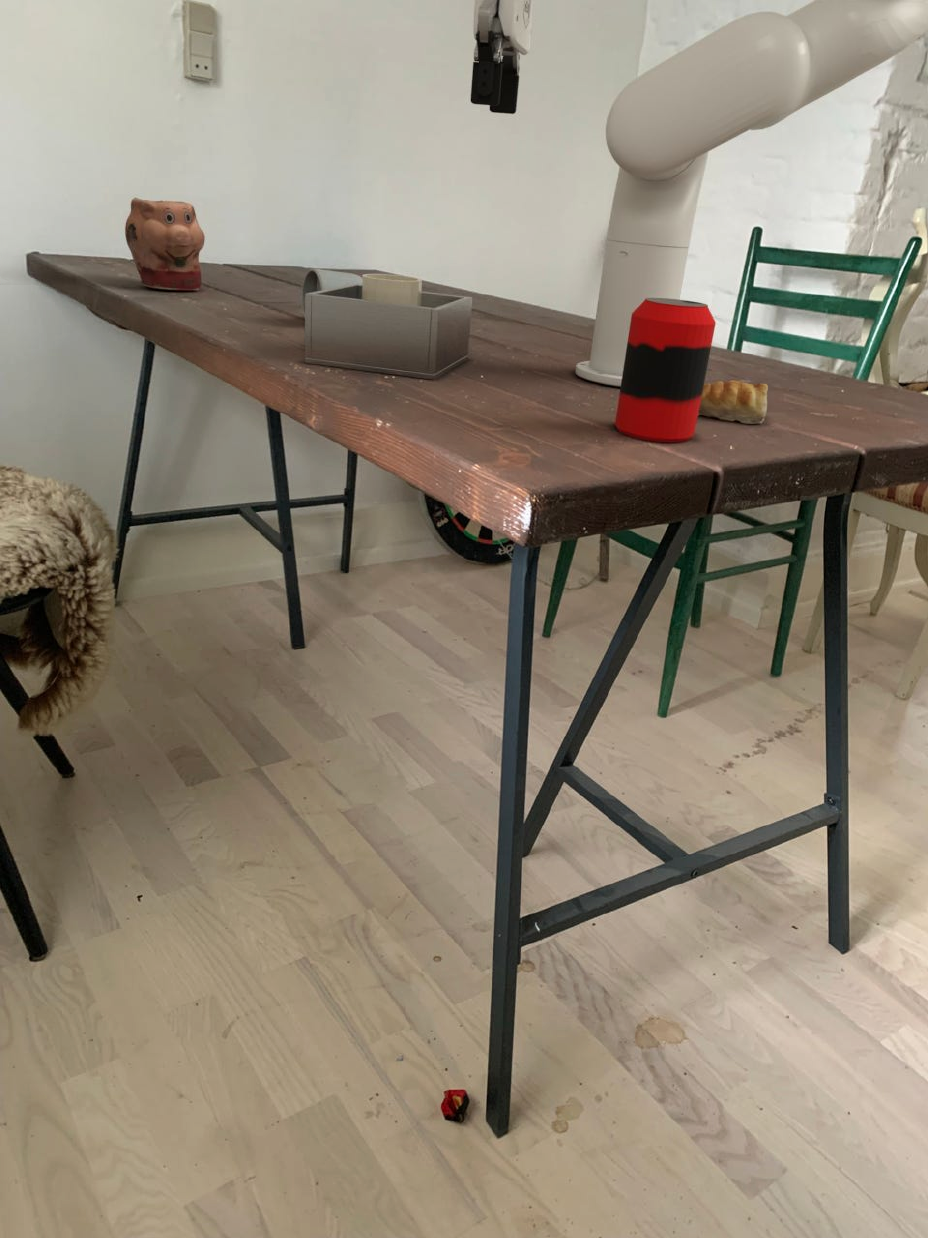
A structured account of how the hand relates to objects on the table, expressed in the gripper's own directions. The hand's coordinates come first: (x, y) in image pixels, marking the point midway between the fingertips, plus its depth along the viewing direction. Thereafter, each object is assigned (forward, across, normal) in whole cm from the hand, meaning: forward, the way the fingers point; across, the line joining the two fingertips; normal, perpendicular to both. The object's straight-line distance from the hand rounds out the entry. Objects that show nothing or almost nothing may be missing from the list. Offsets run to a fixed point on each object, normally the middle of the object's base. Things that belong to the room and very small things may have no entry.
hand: (493, 108), depth 105 cm
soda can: (+28, -29, -25) cm, 48 cm away
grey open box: (+28, -10, +8) cm, 31 cm away
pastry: (+28, -16, -32) cm, 46 cm away
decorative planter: (+28, +31, +62) cm, 75 cm away
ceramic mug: (+28, +13, +25) cm, 40 cm away
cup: (+28, -10, +8) cm, 31 cm away
